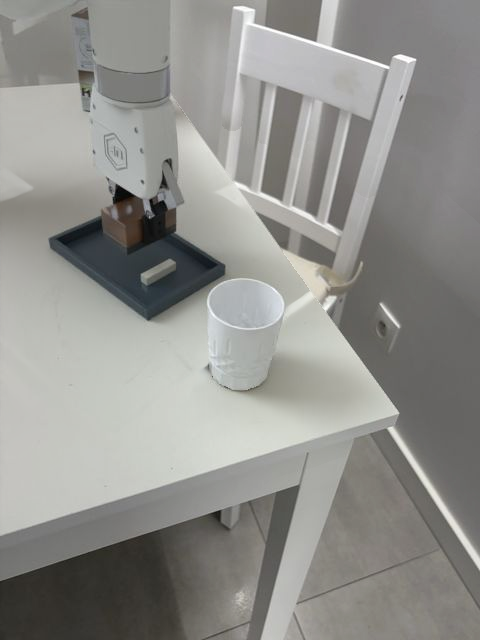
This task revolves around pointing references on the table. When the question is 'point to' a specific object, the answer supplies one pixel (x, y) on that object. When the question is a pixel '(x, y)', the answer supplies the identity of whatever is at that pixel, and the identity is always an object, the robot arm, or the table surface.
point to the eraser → (130, 224)
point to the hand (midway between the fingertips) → (140, 229)
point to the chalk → (158, 272)
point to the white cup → (243, 331)
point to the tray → (138, 267)
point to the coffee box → (83, 55)
